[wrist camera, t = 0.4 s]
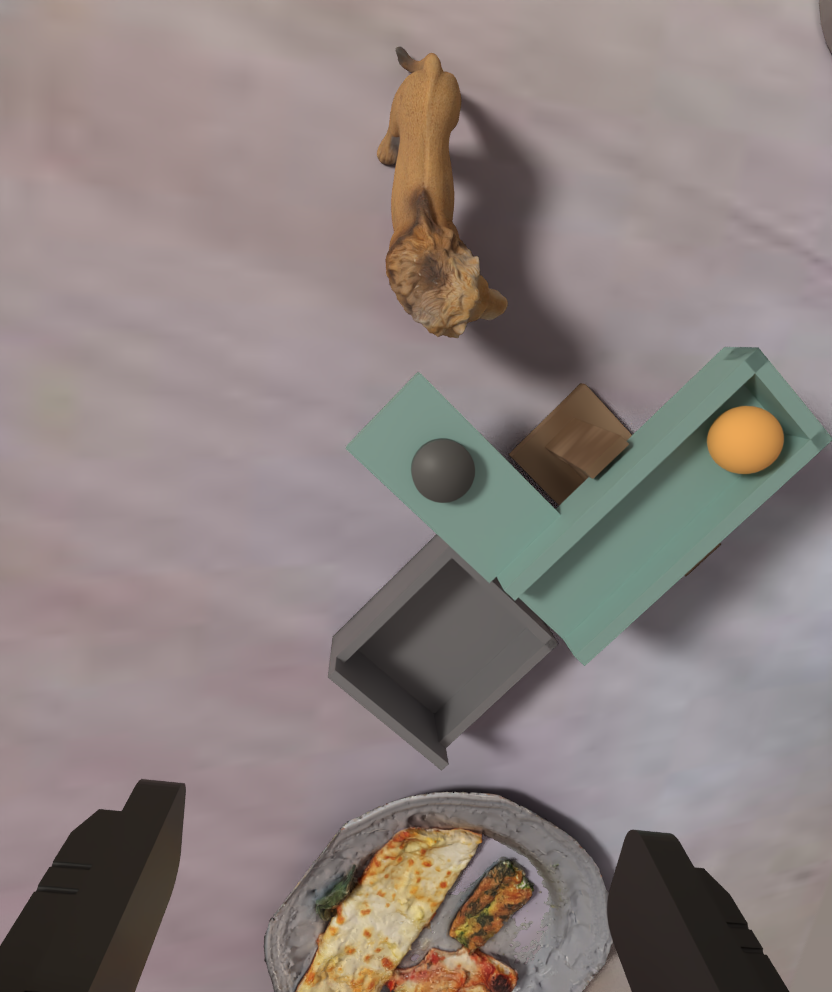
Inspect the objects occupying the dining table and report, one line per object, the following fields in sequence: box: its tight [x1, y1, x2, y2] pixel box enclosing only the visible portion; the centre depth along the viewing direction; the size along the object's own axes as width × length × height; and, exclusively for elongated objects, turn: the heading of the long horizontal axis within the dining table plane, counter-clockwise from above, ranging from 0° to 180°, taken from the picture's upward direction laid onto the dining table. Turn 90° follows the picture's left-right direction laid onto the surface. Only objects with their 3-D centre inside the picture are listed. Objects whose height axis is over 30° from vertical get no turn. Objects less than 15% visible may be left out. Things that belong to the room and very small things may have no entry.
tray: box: [328, 534, 559, 771], centre depth 38 cm, size 10×9×5 cm
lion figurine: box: [377, 47, 508, 338], centre depth 30 cm, size 15×5×9 cm, turn 10°
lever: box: [346, 347, 832, 666], centre depth 30 cm, size 16×16×3 cm
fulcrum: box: [509, 383, 721, 576], centre depth 35 cm, size 6×10×8 cm, turn 45°
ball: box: [707, 406, 784, 474], centre depth 29 cm, size 3×3×3 cm
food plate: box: [264, 792, 613, 992], centre depth 45 cm, size 25×23×4 cm
